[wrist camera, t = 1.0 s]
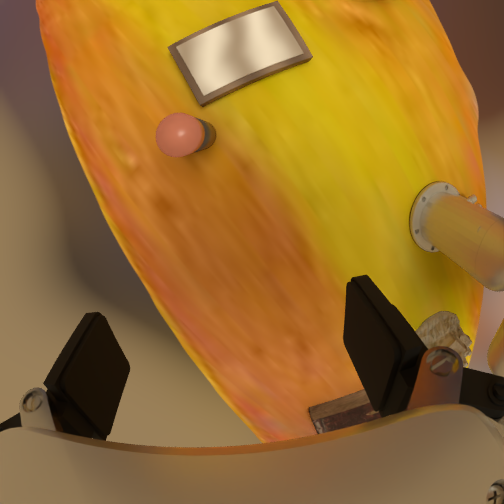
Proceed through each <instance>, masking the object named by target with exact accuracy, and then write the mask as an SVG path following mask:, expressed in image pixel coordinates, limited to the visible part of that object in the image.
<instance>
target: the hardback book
mask: <svg viewBox="0 0 504 504" xmlns="http://www.w3.org/2000/svg"><path fill="white" fill-rule="evenodd" d="M309 412H310V417H311V419H312V422H313V424H314V426H315V428H316V431H317V433H318V434H322V433H326V432H331V431H335V430H339V429H343V428H347V427H351V426H355V425H359V424H362V423H366V422H369V421H373V420H376V419H379V418H382V417H381V415H380V413H379V411H377V412H375V411H374V409H373V407H372V405H371V403H370V401H369V398H368V396H367V394H366V391H365V389H363V390H361V391H358V392H355V393H352V394H350V395H347V396H344V397H341V398H338V399H335V400H332V401H329V402H326V403H322V404H319V405H316V406H312V407H309Z"/></svg>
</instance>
